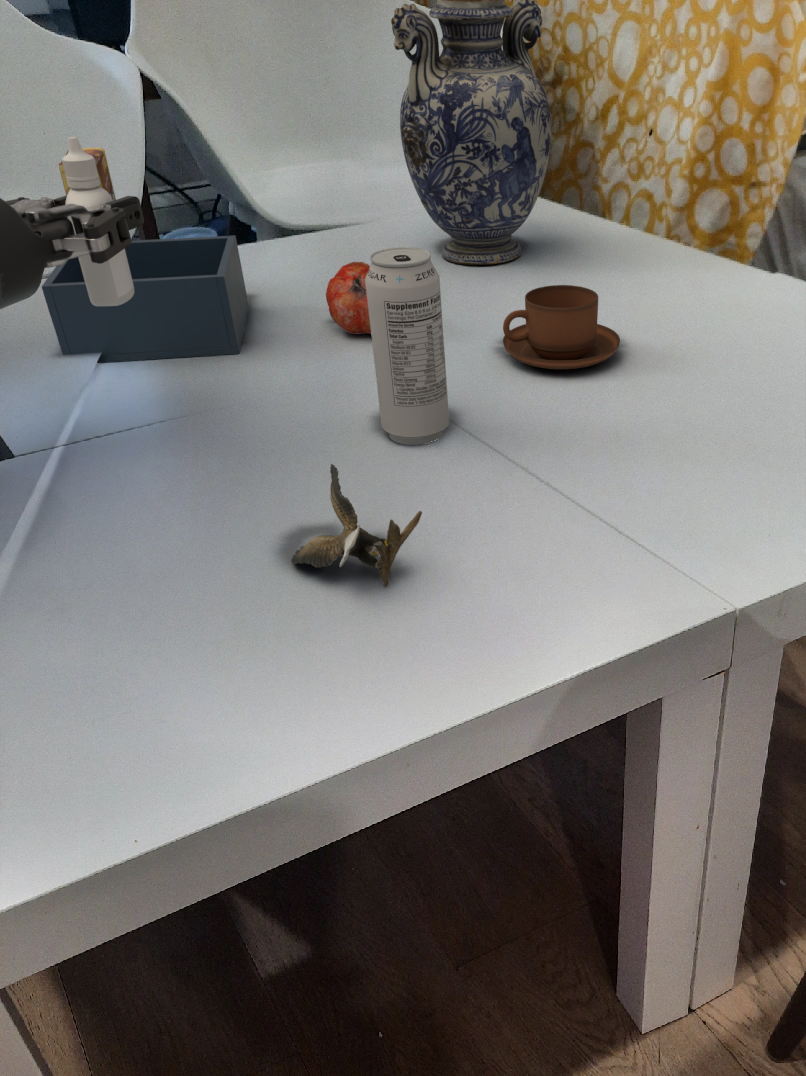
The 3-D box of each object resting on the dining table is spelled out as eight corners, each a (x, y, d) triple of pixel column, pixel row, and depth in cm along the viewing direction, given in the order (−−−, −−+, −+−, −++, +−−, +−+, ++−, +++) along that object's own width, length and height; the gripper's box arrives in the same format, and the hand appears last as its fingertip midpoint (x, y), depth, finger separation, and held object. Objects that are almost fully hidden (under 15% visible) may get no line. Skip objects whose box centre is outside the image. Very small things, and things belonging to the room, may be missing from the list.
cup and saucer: (554, 389, 98) (554, 324, 94) (480, 355, 105) (477, 294, 101) (643, 360, 104) (646, 298, 100) (567, 329, 111) (568, 270, 107)
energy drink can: (439, 415, 93) (426, 242, 84) (458, 441, 89) (447, 261, 79) (375, 425, 92) (354, 250, 82) (392, 452, 87) (372, 270, 78)
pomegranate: (335, 343, 115) (307, 311, 105) (346, 278, 114) (320, 240, 104) (398, 354, 114) (376, 323, 104) (410, 289, 114) (389, 252, 104)
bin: (65, 365, 104) (41, 286, 99) (93, 316, 116) (72, 243, 111) (239, 354, 106) (223, 276, 101) (249, 306, 118) (235, 235, 113)
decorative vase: (501, 226, 144) (494, -15, 126) (587, 254, 133) (592, -6, 115) (375, 255, 134) (347, -4, 116) (457, 287, 123) (440, 7, 105)
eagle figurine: (440, 538, 73) (348, 486, 76) (409, 490, 67) (309, 434, 70) (379, 623, 72) (288, 566, 75) (342, 582, 66) (243, 522, 69)
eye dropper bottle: (155, 291, 87) (119, 133, 80) (110, 310, 83) (68, 146, 76) (115, 285, 88) (76, 129, 81) (69, 304, 85) (23, 141, 77)
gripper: (15, 213, 67) (175, 162, 79) (-144, 195, 71) (32, 149, 83) (50, 328, 72) (196, 263, 84) (-100, 305, 76) (60, 246, 88)
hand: (113, 207), depth 84 cm, fingers closed on eye dropper bottle, 4 cm apart
